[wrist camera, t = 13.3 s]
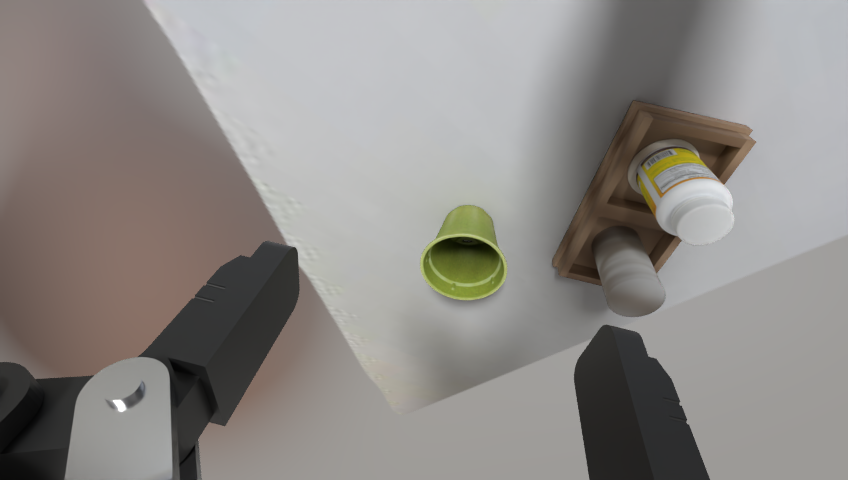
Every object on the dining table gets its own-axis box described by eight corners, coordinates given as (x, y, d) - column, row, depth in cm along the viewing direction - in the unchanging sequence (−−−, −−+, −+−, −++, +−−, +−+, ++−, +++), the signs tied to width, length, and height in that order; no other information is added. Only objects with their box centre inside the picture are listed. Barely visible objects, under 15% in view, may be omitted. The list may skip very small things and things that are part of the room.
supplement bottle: (675, 199, 40) (716, 261, 32) (623, 185, 40) (651, 244, 32) (710, 150, 37) (765, 206, 29) (652, 136, 37) (692, 187, 29)
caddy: (633, 100, 37) (668, 142, 29) (746, 125, 36) (814, 175, 28) (552, 260, 49) (560, 320, 41) (635, 280, 49) (659, 344, 41)
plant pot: (430, 190, 46) (417, 231, 40) (510, 193, 45) (510, 237, 38) (433, 250, 52) (422, 296, 45) (503, 255, 50) (503, 303, 44)
